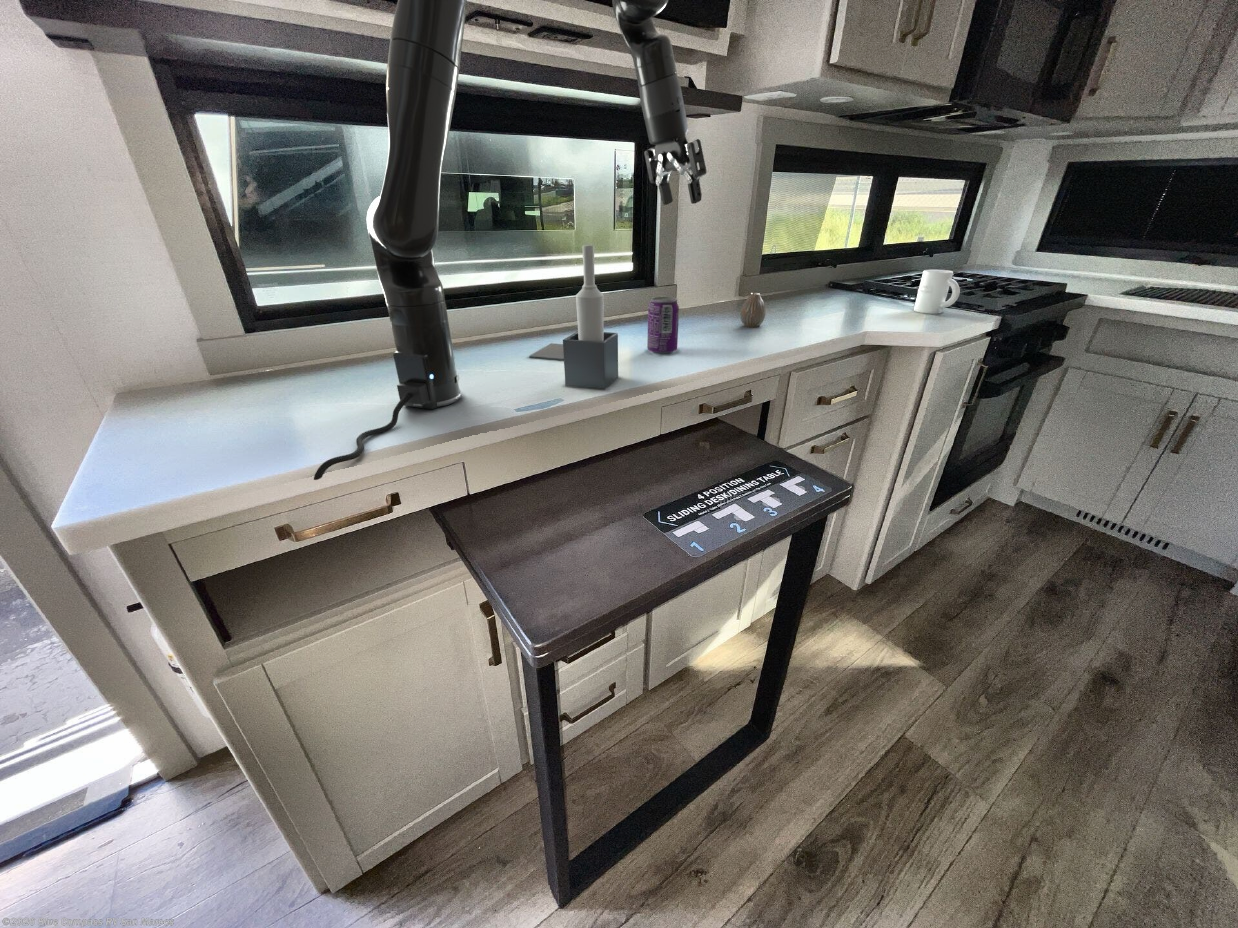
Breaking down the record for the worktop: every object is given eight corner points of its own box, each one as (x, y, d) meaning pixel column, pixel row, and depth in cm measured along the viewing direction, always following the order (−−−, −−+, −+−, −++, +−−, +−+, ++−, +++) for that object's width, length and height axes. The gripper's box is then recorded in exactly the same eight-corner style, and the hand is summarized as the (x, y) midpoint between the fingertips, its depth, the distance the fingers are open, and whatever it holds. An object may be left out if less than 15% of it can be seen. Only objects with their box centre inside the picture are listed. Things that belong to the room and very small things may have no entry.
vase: (735, 326, 143) (738, 294, 139) (745, 322, 148) (748, 290, 144) (758, 329, 140) (762, 296, 136) (767, 324, 145) (771, 293, 141)
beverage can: (682, 350, 121) (685, 298, 116) (668, 357, 116) (670, 303, 110) (656, 346, 125) (658, 295, 119) (641, 352, 120) (642, 300, 114)
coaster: (577, 361, 113) (577, 360, 113) (529, 357, 116) (529, 356, 116) (596, 348, 123) (596, 346, 123) (551, 345, 126) (551, 343, 126)
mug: (944, 317, 153) (956, 275, 147) (907, 310, 162) (917, 270, 156) (960, 314, 156) (972, 273, 151) (923, 307, 165) (933, 268, 160)
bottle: (582, 386, 98) (576, 247, 86) (577, 378, 102) (571, 244, 91) (608, 384, 99) (606, 246, 87) (601, 376, 104) (599, 244, 92)
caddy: (605, 390, 96) (604, 343, 92) (565, 386, 98) (562, 339, 94) (618, 377, 103) (617, 332, 99) (580, 373, 105) (579, 330, 101)
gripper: (625, 122, 97) (646, 210, 106) (674, 109, 86) (693, 209, 96) (654, 110, 100) (672, 197, 109) (705, 96, 89) (720, 194, 99)
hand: (682, 203), depth 102 cm, fingers open, 8 cm apart
